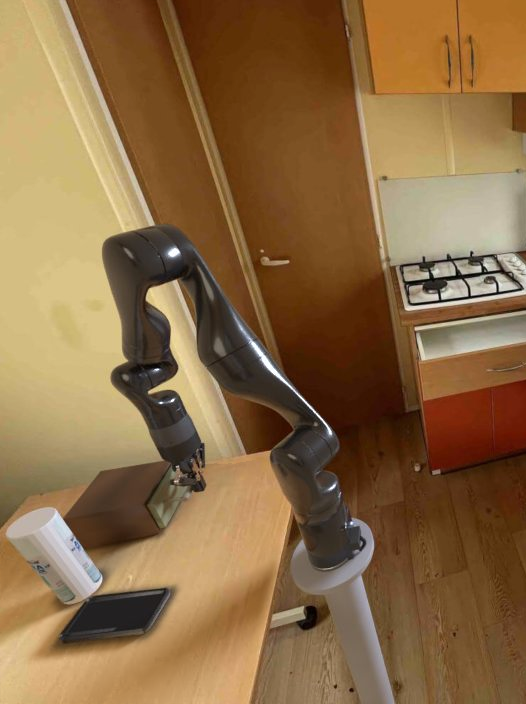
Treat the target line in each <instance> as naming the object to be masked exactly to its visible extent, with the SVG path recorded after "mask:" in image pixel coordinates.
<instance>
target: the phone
mask: <svg viewBox="0 0 526 704" xmlns="http://www.w3.org/2000/svg"><path fill="white" fill-rule="evenodd" d="M170 596H171V591H170V590H169V588H167V587H161V588H152V589H144V590H143V589H141V590H134V591H133V590H131V591H125V592H114V593H105V594H96V595H91V596H89V597H87V598H86V599H85V601H84V602H83V603H82V605H81V606H80V607H79V609H78V610H77V611H76V613H75V614H74V615H73V617H72V618H71V619H70V620H69V622H68V623H67V624H66V626H65V627H64V629H63V630H62V631H61V632H60V634H59V635H58V640H59V641H60V643H62V644H70V643H79V642H88V641H97V640H105V639H112V638H113V639H114V638H121V637H130V636H131V637H132V636H138V635H144V634H146V633H148V632H149V630H150V629H151V628H152V627H153V626H154V624H155V622H156V621H157V619H158V617H159V615H160V614H161V612H162V610H163V609H164V607H165V605H167V603H168V600H169V598H170Z"/></svg>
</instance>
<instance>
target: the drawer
mask: <svg viewBox="0 0 526 704" xmlns="http://www.w3.org/2000/svg"><path fill="white" fill-rule="evenodd" d="M174 478H175V472H174V471H173V470H172V464H171V466H170V468H169V469H168V471H167V472H166V473H165V474H164V476H163V477H162V479H161V481H160V482H159V484H158V487H157V489H156V491H155V492H154V494H153V496H152V497H151V499H150V500H149V502H148V504H147V507H148V508H149V510H150V512H151V514H152V515H153V517H154V519H155V521H156V523H157V524H158V526H159V528H160V529H161V528H162V529H165V528H167V526H168V524H169V523H170V521H171V518H172V517H173V515H174V513H175V511H176V509H177V507H178V506H179V504H180V501H182V502H187V501H189V499H190V497H191V495H192V494H193V492H194V491H193V489H192V487H191V485H190V486H185V487H181V486H174V485H170V480H171V479H174Z"/></svg>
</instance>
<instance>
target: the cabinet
mask: <svg viewBox="0 0 526 704" xmlns="http://www.w3.org/2000/svg"><path fill="white" fill-rule="evenodd" d="M170 466H171V463H170V462H168V461H165V460H160V461H153V462H147V463H142V464H141V463H140V464H135V465H128V466H123V467H117V468H110V469H104V470H100V471H99V472H98V474H97V475H96V476H95V477H94V479H92V481H91V483H89V485H88V486H87V487H86V488H85V490H84V491H83V493H82V494H81V495H80V496H79V497H78V499H77V500H76V501H75V503H74V504H73V505H72V506H71V507H70V508H69V510H68V511H67V513H66V514H65V515H64V516H63V517H62V519H63V520H64V522H65V523H66V524H67V526H68V527H69V529H70V530H71V532H72V533H73V535H74V536H75V537H76V539H77V540H78V542H79V543H80V545H81V546H82V547H83V549H84V550H85V549H89V548H94V547H100V546H105V545H109V544H113V543H119V542H125V541H129V540H135V539H140V538H145V537H150V536H155V535H160V534H161V533H162V530H163V528H161V529H160V528H159V526H158V524H157V523H156V521H155V519H154V517H153V515H152V514H151V512H150V510H149V508H148V507H147V505H146V504H147V502H148V500H149V499H150V497H151V495H152V494H153V492H154V490H155V489H156V487H157V486H158V484H159V482H160V481H161V479H162V477H163V476H164V474H165V473H166V472H167V471H168V469H169V468H170Z"/></svg>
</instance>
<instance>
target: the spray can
mask: <svg viewBox="0 0 526 704" xmlns="http://www.w3.org/2000/svg"><path fill="white" fill-rule="evenodd" d="M5 537H6V539H7V540H8V541H9V542H10V544H11V545H13V547H14V548H15V550H16V551H17V552H18V553H19V554H20V555H21V556H22V557H23V559H24V560H25V561H26V562H27V563H28V565H29V566H30V567H31V568H32V569H33V570H34V571H35V573H36V574H37V575H38V577H40V579H41V580H42V581H43V582H44V584H46V586H47V587H48V588H49V589H50V590H51V592H52V593H53V594H54V595H55V596H56V598H58V600H59V601H60V603H62V604H65V605H74V604H77V603H79V602H81V601H84V600H87V599H88V598H90V597H91V596H92V595H93V594H94V593H95V592H96V591H97V590H99V587H100V586H101V585H102V582H103V575H102V573H101V572H100V571H99V568H97V567H96V565H95V563H94V562H93V560H92V559H91V557H90V556H89V555H88V553H87V552H86V550H85V548H84V549H83V547H82V546H81V545H80V543H79V542H78V540H77V539H76V537H75V536H74V535H73V533H72V532H71V530H70V529H69V527H68V526H67V524H66V523H65V522H64V520H63V517H62V516H61V514H60V513H59V511H58V510H57V509H56V508H55V507H52V506H46V507H45V506H44V507H40V508H37V509H34V510H32V511H29V512H27V513H25V514H23V515H22V516H20V517H19V518H17V519H16V520H15V521H13V522H12V523H11V524H10V525H9V526H8V528H7V529H6V531H5Z"/></svg>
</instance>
